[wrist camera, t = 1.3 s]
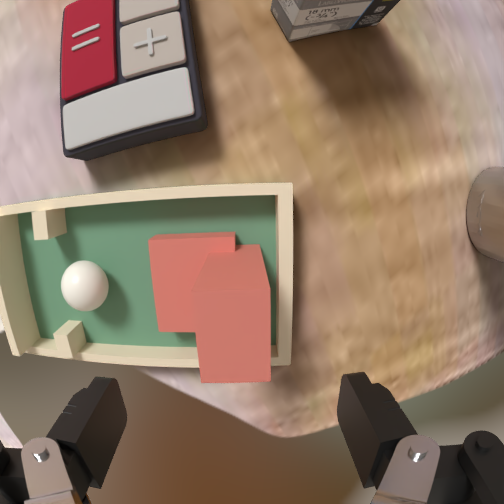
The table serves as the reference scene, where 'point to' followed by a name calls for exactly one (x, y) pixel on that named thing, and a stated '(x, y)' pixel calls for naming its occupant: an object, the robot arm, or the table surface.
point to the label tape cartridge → (327, 15)
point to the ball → (84, 285)
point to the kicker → (215, 302)
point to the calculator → (127, 75)
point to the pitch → (132, 267)
